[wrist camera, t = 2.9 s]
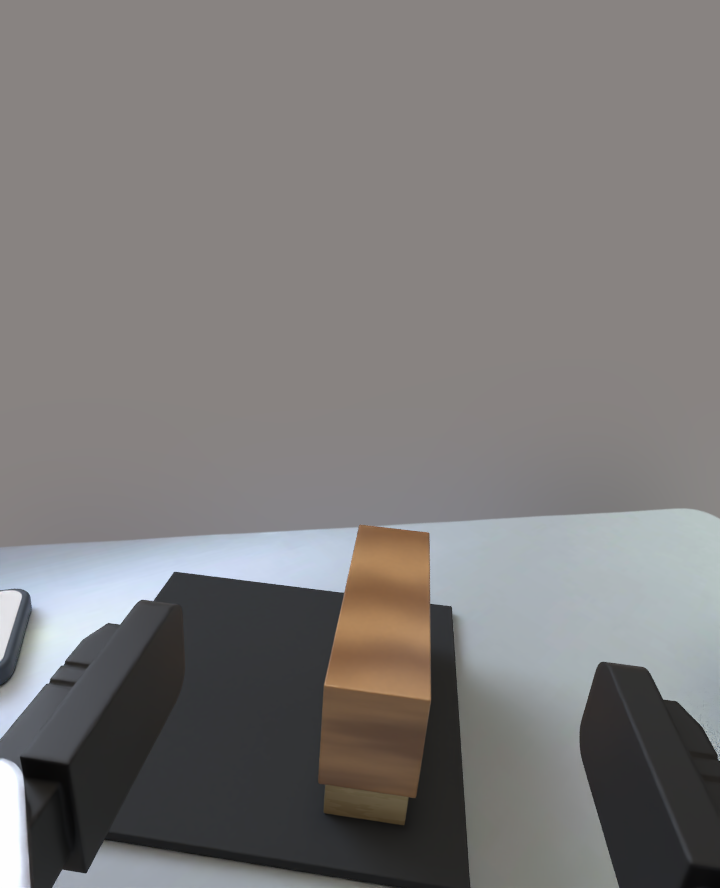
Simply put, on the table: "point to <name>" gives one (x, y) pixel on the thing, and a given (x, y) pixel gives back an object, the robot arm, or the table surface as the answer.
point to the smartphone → (12, 628)
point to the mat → (286, 746)
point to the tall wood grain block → (378, 679)
